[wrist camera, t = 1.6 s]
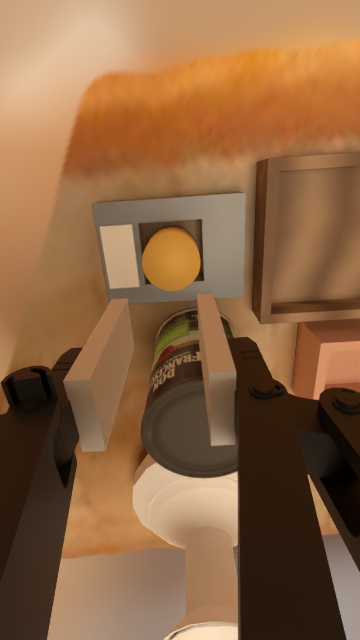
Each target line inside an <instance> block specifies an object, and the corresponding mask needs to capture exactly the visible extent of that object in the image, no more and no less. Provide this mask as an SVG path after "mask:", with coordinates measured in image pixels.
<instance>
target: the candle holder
mask: <svg viewBox="0 0 360 640" xmlns="http://www.w3.org/2000/svg"><path fill="white" fill-rule="evenodd" d="M133 508H134V510H135V512H136V514H137V516H138V518H139V520H140V522H141V524H142V525H144V526H145V527H147V528H148V529H150V530H151V531H152V532H154V533H155V534H157V535H158V536H159V537H161V538H162V539H164V540H165V541H167V542H168V543H169V544H172V545H175V546H178V547H181V548H184V549H186V617H185V618H184V619H183V620H182V621H181V622H180V623H179V624H178V625H177V626H176V627H175V628H174V629H173V630H172V631H171V632H170V633H169V634H168V635H167V636H166V638H164V639H163V640H238V583H237V577H236V569H235V562H234V555H233V548H232V547H234V546H236V545H238V474H237V472H235V473H233V474H230V475H226V476H222V477H216V478H206V479H204V478H191V477H186V476H182V475H178V474H176V473H173V472H171V471H169V470H167V469H165V468H163V467H162V466H160V465H159V464H158V463H157V462H155V461H154V460H153V459H152V458H151V457H150V455H149V454H148V455H147V456H146V457H145V459H144V460H143V462H142V463H141V464H140V466H139V467H138V469H137V470H136V471H135V478H134V484H133Z"/></svg>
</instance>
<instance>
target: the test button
mask: <svg viewBox="0 0 360 640" xmlns="http://www.w3.org/2000/svg"><path fill="white" fill-rule="evenodd" d="M142 267H143V271H144V273H145V276H146V277H147V279H148V280H149V281H150V282H151V283H152V284H153V285H154V286H156V287H158V288H160V289H162V290H166V291H177V290H181V289H183V288H185V287H187V286H189V285H190V284H191V283H192V282H193V281H194V280H195V279H196V277H197V275H198V273H199V270H200V255H199V251H198V248H197V244H196V242H195V240H194V238H193V237H192V236H191V235H190V234H189V233H188V232H187V231H185V230H184V229H181V228H178V227H166V228H163V229H161V230H159V231H157V232H156V233H155V234H154V235H153V236H152V237H151V239H150V241H149V242H148V244H147V246H146V248H145V250H144V253H143V256H142Z"/></svg>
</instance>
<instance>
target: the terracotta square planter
mask: <svg viewBox="0 0 360 640" xmlns="http://www.w3.org/2000/svg"><path fill="white" fill-rule="evenodd" d="M333 387H337V388H347V389H351V390H355V391H357V392H359V393H360V318H356V319H339V320H322V321H306V322H299V324H298V334H297V343H296V353H295V362H294V372H293V381H292V390H293V392H294V394H295V396H298V397H302V398H309V399H315V400H319V397H320V393H321V392H323V391H324V390H325V389H329V388H333Z"/></svg>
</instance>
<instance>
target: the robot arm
mask: <svg viewBox="0 0 360 640" xmlns="http://www.w3.org/2000/svg"><path fill="white" fill-rule="evenodd" d="M197 306H198V328H199V347H200V355H201V363H202V372H203V380H204V389H205V397H206V406H207V414H208V423H209V431H210V440H211V446H219V445H235V437H236V439H237V443H238V460H237V474H238V640H346V636H345V632H344V628H343V623H342V619H341V615H340V611H339V606H338V602H337V598H336V594H335V590H334V585H333V582H332V577H331V573H330V568H329V564H328V560H327V556H326V552H325V548H324V543H323V539H322V535H321V531H320V526H319V522H318V518H317V514H316V510H315V505H314V501H313V497H312V493H311V489H310V484H309V480H308V476H307V474H308V475H310V478H311V480H312V482H313V484H314V486H315V487H316V489H317V491H318V493H319V495H320V497H321V499H322V501H323V503H324V505H325V506H326V508H327V510H328V512H329V514H330V516H331V518H332V520H333V522H334V524H335V526H336V527H337V529H338V531H339V533H340V535H341V537H342V539H343V541H344V542H345V544H346V546H347V548H348V550H349V552H350V554H351V556H352V558H353V560H354V562H355V564H356V565H357V567H358V569H359V571H360V393H359V392H357V391H355V390H351V389H347V388H337V387H333V388H329V389H325V390H324V391H323V392H321V393H320V397H319V400H315V399H309V398H302V397H298V396H294V395H291V394H289V393H288V392H287V390H286V388H285V386H284V385H282V384H281V383H280V382H279V381H276V380H274V379H273V378H272V376H271V374H270V372H269V369H268V367H267V365H266V363H265V361H264V359H263V357H262V355H261V353H260V350H259V348H258V346H257V344H256V343H255V342H254V341H252V340H251V339H250V338H248V337H240V338H226V335H225V332H224V329H223V325H222V322H221V319H220V315H219V312H218V309H217V305H216V302H215V298H214V295H213V293H206V294H197ZM134 349H135V347H134V340H133V333H132V327H131V320H130V313H129V306H128V299H127V298H126V299H112V300H111V301H110V303H109V305H108V306H107V308H106V310H105V311H104V313H103V315H102V317H101V318H100V320H99V322H98V323H97V325H96V327H95V328H94V330H93V332H92V333H91V335H90V337H89V338H88V340H87V342H86V343H85V345H84V347H83V348H71V349H70V350H68V351H67V352H65V353H64V354H63V355H61V357H60V358H59V360H58V361H57V362H56V365H54V367H53V368H52V371H51V370H50V369H49V368H48V367H45V366H31V367H26V368H23V369H20V370H18V371H15V372H13V373H12V374H10V375H8V376H7V377H5V379H4V380H3V381H2V382H1V385H2V387H3V390H4V393H5V395H6V398H7V401H8V403H9V406H10V407H9V409H8V411H7V413H5V414H2V415H0V640H47V636H48V630H49V624H50V618H51V612H52V606H53V601H54V595H55V589H56V583H57V577H58V571H59V565H60V560H61V554H62V548H63V542H64V536H65V531H66V525H67V519H68V513H69V507H70V501H71V496H72V490H73V484H74V478H75V472H76V466H77V459H76V455H75V452H74V450H75V448H76V445H77V443H78V440H79V441H80V445H81V449H82V452H94V451H106V449H107V446H108V442H109V439H110V435H111V431H112V428H113V424H114V421H115V417H116V413H117V410H118V406H119V403H120V399H121V395H122V392H123V388H124V385H125V381H126V377H127V374H128V370H129V367H130V363H131V359H132V356H133V352H134Z"/></svg>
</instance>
